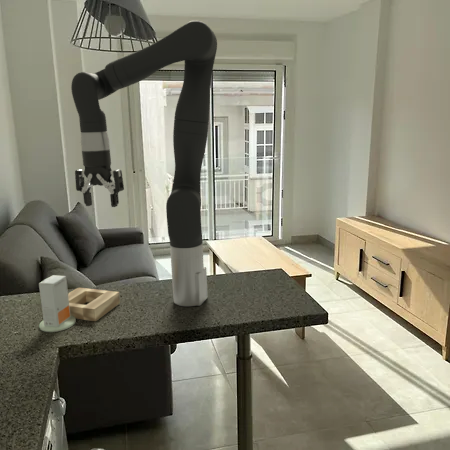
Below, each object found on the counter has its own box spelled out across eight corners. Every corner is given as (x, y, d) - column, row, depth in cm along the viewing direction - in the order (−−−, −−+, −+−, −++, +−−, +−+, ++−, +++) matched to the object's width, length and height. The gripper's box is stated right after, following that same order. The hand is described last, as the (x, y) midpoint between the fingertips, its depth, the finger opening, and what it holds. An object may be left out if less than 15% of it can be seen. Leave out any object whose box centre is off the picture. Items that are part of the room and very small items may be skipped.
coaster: (82, 318, 119) (82, 316, 119) (60, 334, 111) (60, 331, 110) (55, 314, 122) (55, 312, 122) (31, 329, 113) (31, 327, 113)
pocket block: (120, 303, 128) (118, 292, 127) (95, 321, 117) (94, 309, 116) (79, 298, 132) (78, 287, 132) (52, 315, 121) (50, 303, 121)
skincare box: (58, 327, 113) (52, 284, 110) (43, 326, 114) (37, 283, 111) (71, 317, 118) (66, 275, 115) (57, 316, 119) (52, 274, 116)
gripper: (125, 147, 123) (130, 204, 127) (82, 147, 127) (88, 202, 131) (110, 149, 116) (116, 209, 120) (65, 150, 120) (72, 208, 124)
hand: (101, 206), depth 125 cm, fingers open, 8 cm apart
